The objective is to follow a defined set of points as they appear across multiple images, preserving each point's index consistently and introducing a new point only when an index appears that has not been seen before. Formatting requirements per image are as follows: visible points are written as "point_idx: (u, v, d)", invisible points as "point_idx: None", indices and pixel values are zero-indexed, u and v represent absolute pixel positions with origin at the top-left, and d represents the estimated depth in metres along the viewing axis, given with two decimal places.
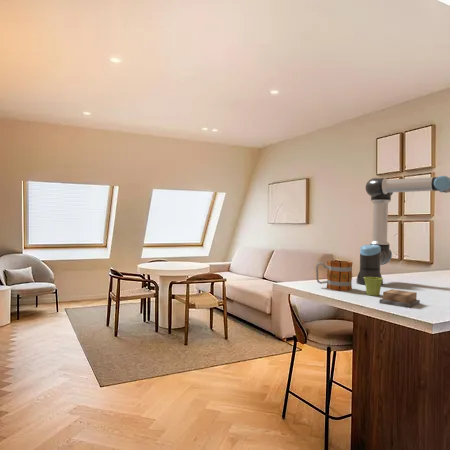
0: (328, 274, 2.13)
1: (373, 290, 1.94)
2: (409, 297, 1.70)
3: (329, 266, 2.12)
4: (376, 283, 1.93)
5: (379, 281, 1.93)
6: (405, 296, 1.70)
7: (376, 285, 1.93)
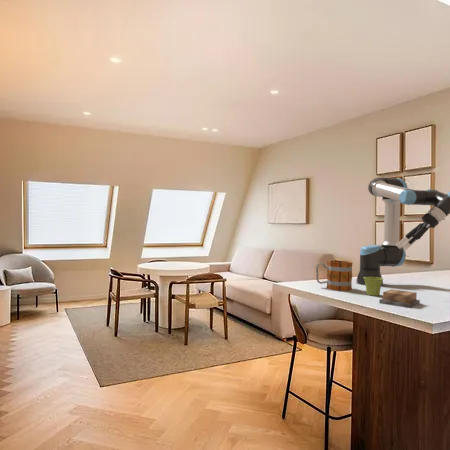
0: (328, 274, 2.13)
1: (373, 290, 1.94)
2: (409, 297, 1.70)
3: (329, 266, 2.12)
4: (376, 283, 1.93)
5: (379, 281, 1.93)
6: (405, 296, 1.70)
7: (376, 285, 1.93)
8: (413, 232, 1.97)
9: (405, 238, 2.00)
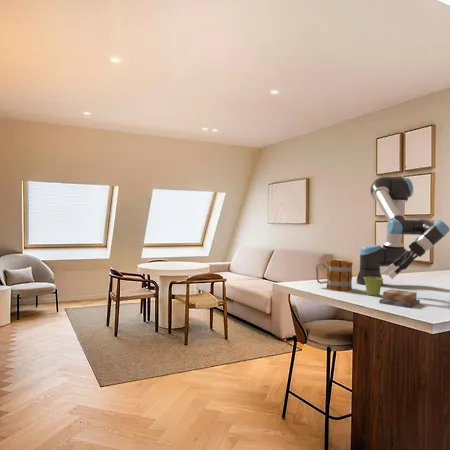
0: (328, 274, 2.13)
1: (373, 290, 1.94)
2: (409, 297, 1.70)
3: (329, 266, 2.12)
4: (376, 283, 1.93)
5: (379, 281, 1.93)
6: (405, 296, 1.70)
7: (376, 285, 1.93)
8: (400, 259, 1.97)
9: (392, 265, 2.00)
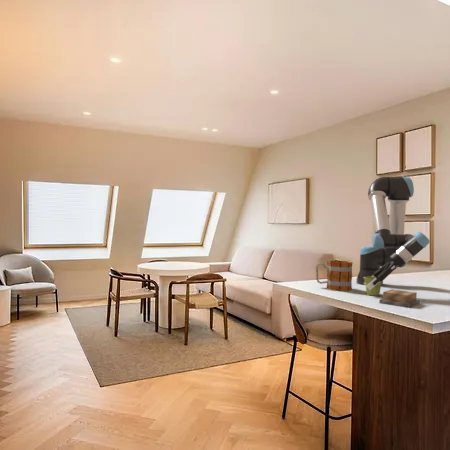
0: (328, 274, 2.13)
1: (373, 290, 1.94)
2: (409, 297, 1.70)
3: (329, 266, 2.12)
4: None
5: None
6: (405, 296, 1.70)
7: None
8: (381, 271, 1.99)
9: None
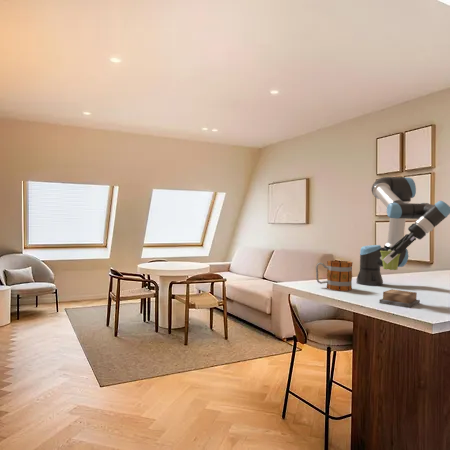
0: (328, 274, 2.13)
1: (391, 264, 1.80)
2: (409, 297, 1.70)
3: (329, 266, 2.12)
4: None
5: None
6: (405, 296, 1.70)
7: (393, 259, 1.79)
8: (399, 244, 1.85)
9: None
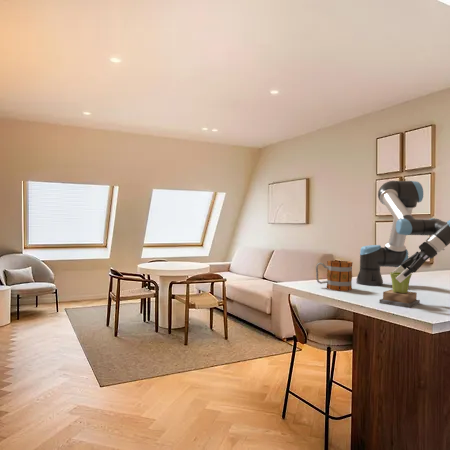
0: (328, 274, 2.13)
1: (401, 287, 1.74)
2: (409, 297, 1.70)
3: (329, 266, 2.12)
4: (404, 279, 1.73)
5: (408, 277, 1.73)
6: (405, 296, 1.70)
7: (404, 282, 1.74)
8: (409, 261, 1.80)
9: (400, 267, 1.83)
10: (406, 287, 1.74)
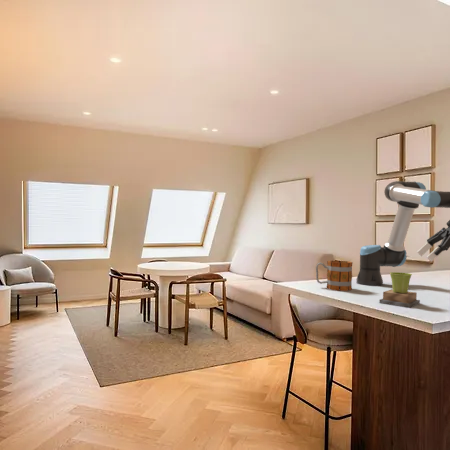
0: (328, 274, 2.13)
1: (401, 287, 1.74)
2: (409, 297, 1.70)
3: (329, 266, 2.12)
4: (404, 279, 1.73)
5: (408, 277, 1.73)
6: (405, 296, 1.70)
7: (404, 282, 1.73)
8: (436, 238, 1.79)
9: (427, 244, 1.82)
10: (406, 287, 1.74)
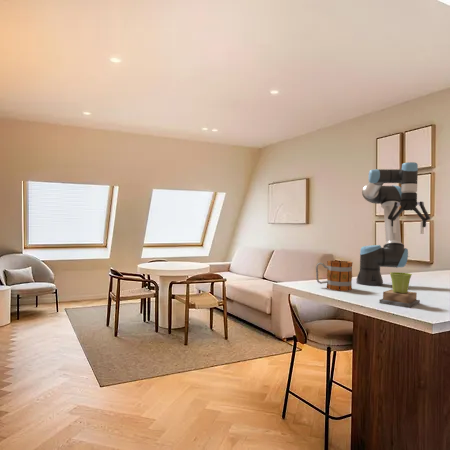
0: (328, 274, 2.13)
1: (401, 287, 1.74)
2: (409, 297, 1.70)
3: (329, 266, 2.12)
4: (404, 279, 1.73)
5: (408, 277, 1.73)
6: (405, 296, 1.70)
7: (404, 282, 1.73)
8: (399, 213, 2.03)
9: (395, 222, 2.05)
10: (406, 287, 1.74)
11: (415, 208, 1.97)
